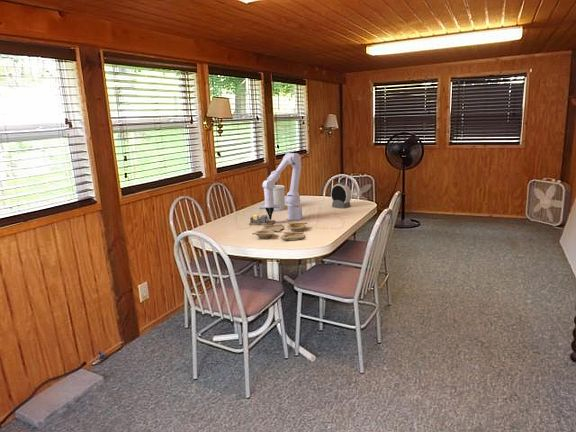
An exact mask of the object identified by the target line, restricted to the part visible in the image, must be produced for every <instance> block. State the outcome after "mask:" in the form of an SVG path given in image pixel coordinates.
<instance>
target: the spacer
mask: <svg viewBox="0 0 576 432" xmlns="http://www.w3.org/2000/svg"><path fill="white" fill-rule="evenodd" d="M252 216H253V220H258V219H257V218H258V217H260V214H253V215H252Z"/></svg>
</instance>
